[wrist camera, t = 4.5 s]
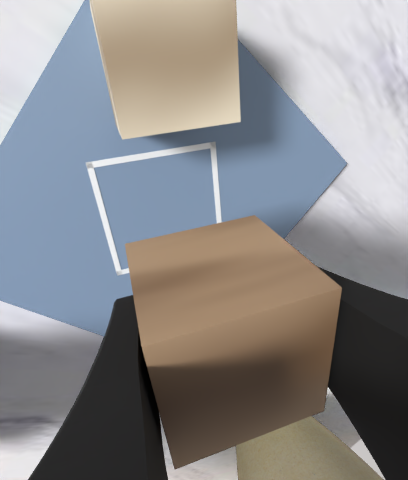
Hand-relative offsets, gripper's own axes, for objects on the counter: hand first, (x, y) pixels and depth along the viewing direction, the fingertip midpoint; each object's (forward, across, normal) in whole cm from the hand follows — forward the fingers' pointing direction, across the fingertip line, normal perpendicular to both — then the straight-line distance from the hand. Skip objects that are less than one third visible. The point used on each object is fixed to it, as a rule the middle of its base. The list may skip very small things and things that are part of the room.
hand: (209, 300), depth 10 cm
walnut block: (+1, 0, 0) cm, 1 cm away
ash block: (+8, -1, -7) cm, 11 cm away
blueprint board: (+9, 0, 0) cm, 9 cm away
